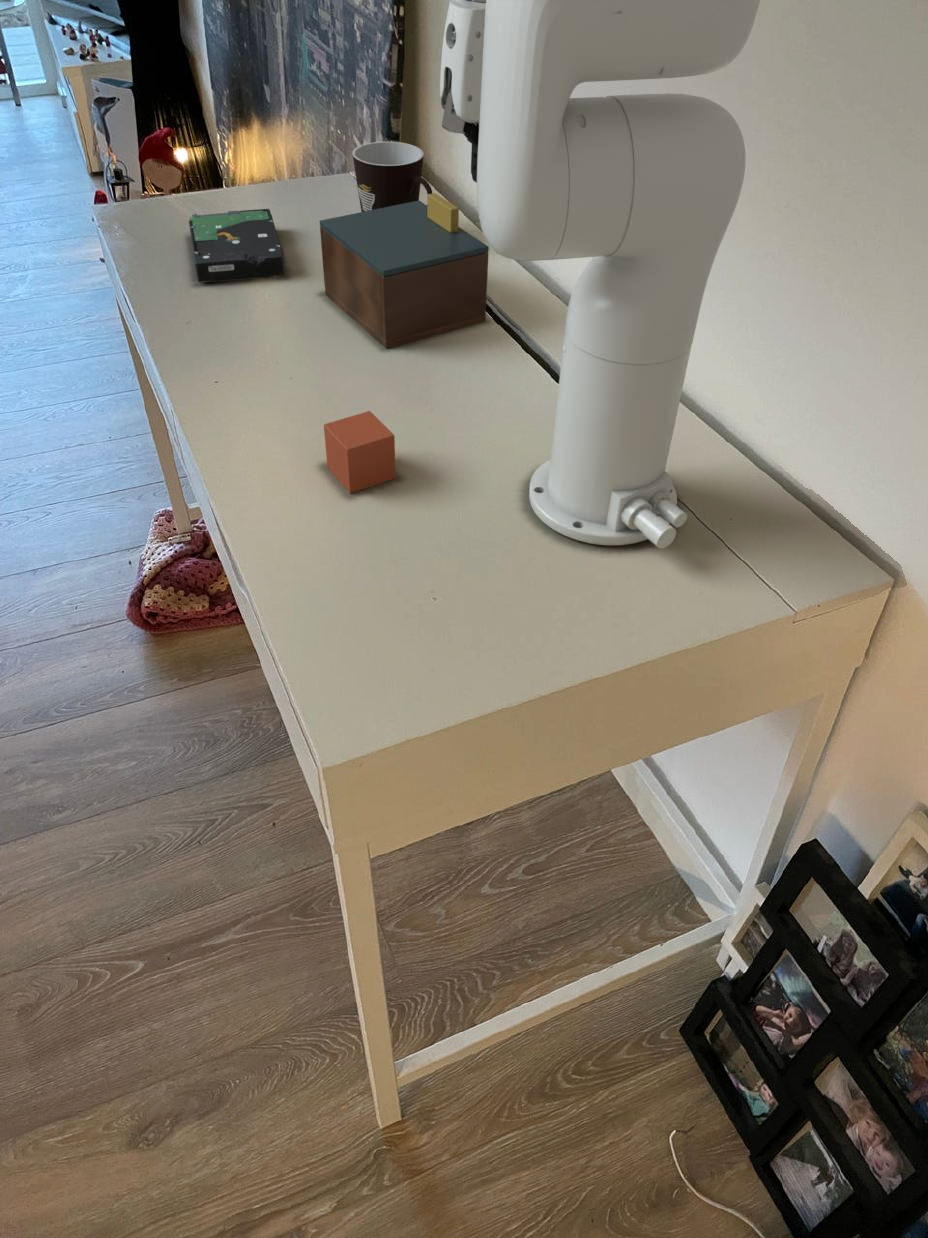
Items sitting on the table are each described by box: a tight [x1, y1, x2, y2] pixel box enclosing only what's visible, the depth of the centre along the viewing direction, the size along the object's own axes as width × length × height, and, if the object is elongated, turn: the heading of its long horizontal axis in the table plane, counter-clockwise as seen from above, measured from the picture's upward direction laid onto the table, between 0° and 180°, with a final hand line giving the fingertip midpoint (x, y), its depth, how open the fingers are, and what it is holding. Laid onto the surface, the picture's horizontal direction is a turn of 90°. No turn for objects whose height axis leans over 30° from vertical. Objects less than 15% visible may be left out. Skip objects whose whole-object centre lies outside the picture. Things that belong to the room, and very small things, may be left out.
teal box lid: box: [319, 192, 490, 276], centre depth 100 cm, size 15×13×3 cm
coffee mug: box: [351, 141, 433, 212], centre depth 116 cm, size 12×9×10 cm
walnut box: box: [319, 226, 489, 349], centre depth 104 cm, size 15×13×8 cm
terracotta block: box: [323, 410, 397, 494], centre depth 82 cm, size 4×4×4 cm
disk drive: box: [188, 208, 286, 283], centre depth 114 cm, size 10×3×15 cm
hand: (485, 182), depth 103 cm, fingers closed
